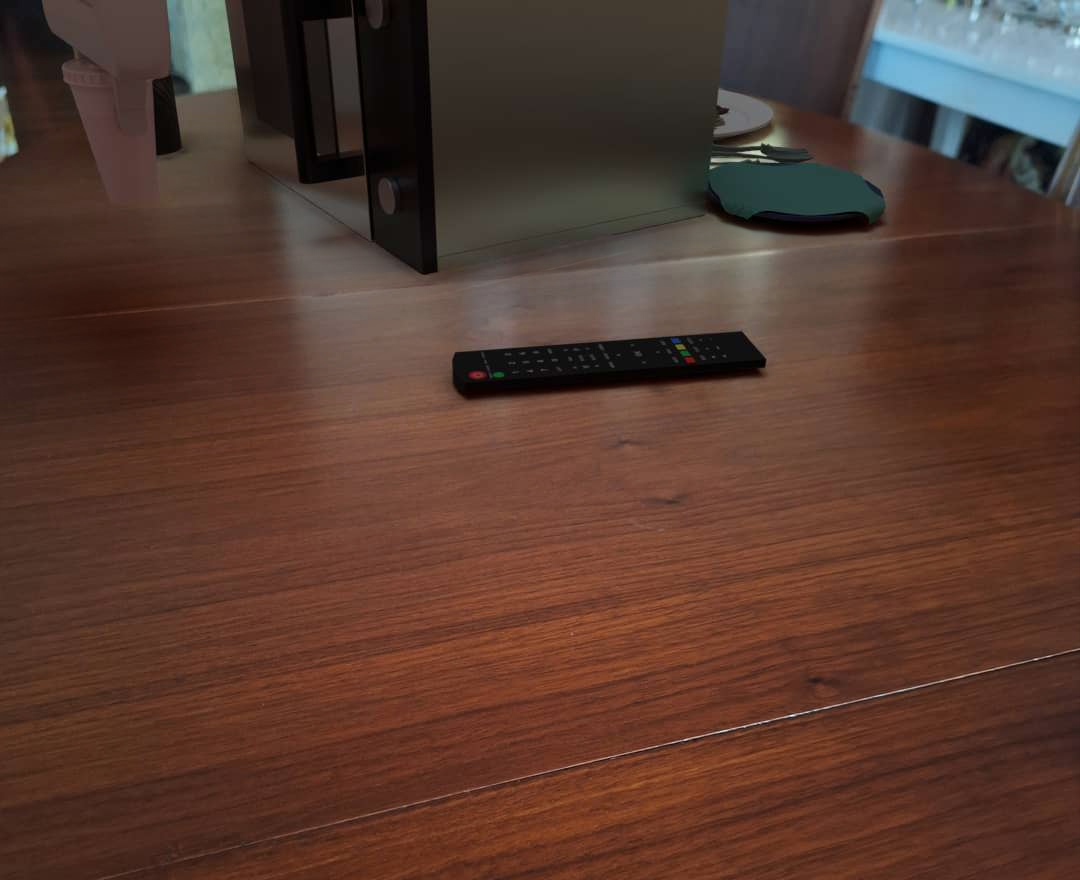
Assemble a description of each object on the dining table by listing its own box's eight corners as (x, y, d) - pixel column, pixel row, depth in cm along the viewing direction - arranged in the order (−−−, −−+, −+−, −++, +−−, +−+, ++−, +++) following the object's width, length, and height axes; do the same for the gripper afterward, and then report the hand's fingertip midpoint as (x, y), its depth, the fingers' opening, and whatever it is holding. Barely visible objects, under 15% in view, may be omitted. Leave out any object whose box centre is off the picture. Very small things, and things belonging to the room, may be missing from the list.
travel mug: (169, 137, 134) (136, -39, 122) (194, 150, 129) (163, -32, 117) (110, 147, 130) (71, -35, 118) (134, 161, 125) (96, -27, 113)
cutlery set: (713, 234, 107) (716, 212, 106) (676, 154, 131) (678, 135, 130) (904, 236, 108) (909, 214, 106) (831, 156, 132) (835, 137, 131)
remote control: (763, 375, 81) (766, 359, 80) (458, 400, 76) (457, 383, 76) (739, 346, 85) (741, 331, 84) (448, 368, 81) (447, 352, 80)
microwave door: (319, 252, 100) (283, -80, 84) (202, 166, 123) (156, -108, 107) (385, 239, 104) (362, -83, 88) (259, 158, 126) (223, -110, 110)
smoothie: (108, 216, 77) (64, 7, 69) (77, 194, 81) (32, -7, 73) (190, 201, 81) (157, 0, 72) (156, 180, 84) (122, -12, 76)
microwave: (415, 278, 96) (396, -72, 80) (243, 162, 125) (203, -111, 109) (705, 214, 112) (738, -87, 96) (492, 125, 142) (490, -117, 126)
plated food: (774, 156, 131) (778, 129, 129) (541, 143, 135) (541, 115, 133) (769, 102, 156) (772, 78, 154) (571, 92, 159) (572, 68, 157)
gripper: (-5, -108, 75) (42, 96, 83) (65, -79, 61) (113, 161, 69) (85, -108, 78) (122, 88, 86) (171, -81, 64) (206, 149, 72)
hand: (119, 121), depth 77 cm, fingers closed on smoothie, 6 cm apart
